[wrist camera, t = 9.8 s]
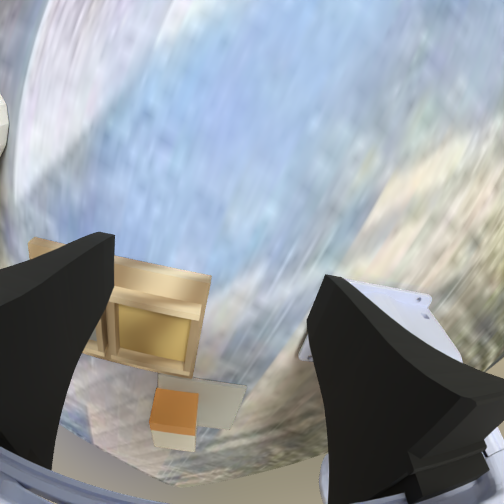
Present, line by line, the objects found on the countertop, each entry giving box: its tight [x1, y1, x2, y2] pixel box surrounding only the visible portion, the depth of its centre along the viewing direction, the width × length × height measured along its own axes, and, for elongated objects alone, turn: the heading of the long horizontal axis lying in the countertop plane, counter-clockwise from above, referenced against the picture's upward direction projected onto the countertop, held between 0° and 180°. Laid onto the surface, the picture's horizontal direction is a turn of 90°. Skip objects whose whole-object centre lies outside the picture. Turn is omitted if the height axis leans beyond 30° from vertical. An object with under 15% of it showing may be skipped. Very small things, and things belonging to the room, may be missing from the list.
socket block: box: [28, 237, 212, 379], centre depth 21 cm, size 14×10×2 cm
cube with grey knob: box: [149, 388, 199, 452], centre depth 26 cm, size 4×4×5 cm
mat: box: [158, 373, 247, 430], centre depth 27 cm, size 8×8×1 cm
